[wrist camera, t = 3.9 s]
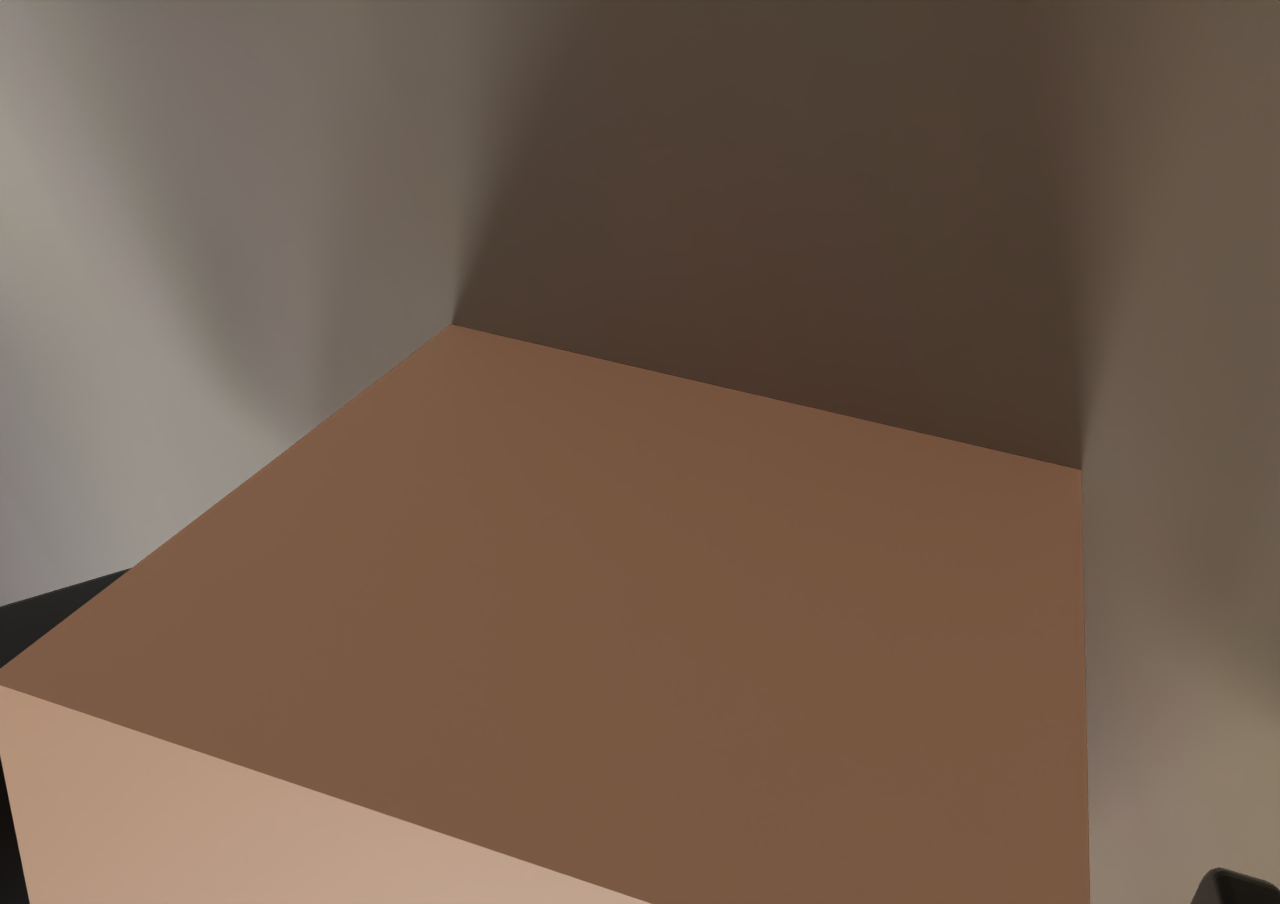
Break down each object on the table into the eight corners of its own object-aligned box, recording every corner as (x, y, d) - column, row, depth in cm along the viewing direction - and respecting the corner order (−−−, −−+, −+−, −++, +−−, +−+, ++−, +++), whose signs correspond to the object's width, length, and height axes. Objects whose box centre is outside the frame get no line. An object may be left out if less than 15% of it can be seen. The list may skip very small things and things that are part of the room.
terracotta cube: (1080, 465, 9) (1093, 1050, 4) (930, 933, 11) (845, 1608, 7) (456, 321, 10) (-16, 679, 6) (440, 775, 12) (104, 1269, 8)
